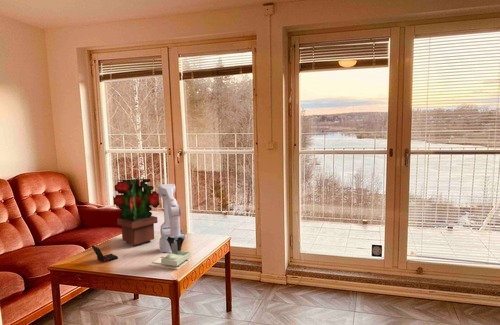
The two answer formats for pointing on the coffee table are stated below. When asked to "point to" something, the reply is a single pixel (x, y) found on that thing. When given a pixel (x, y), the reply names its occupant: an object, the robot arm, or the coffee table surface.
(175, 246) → the part block
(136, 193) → the potted plant
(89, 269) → the coffee table surface
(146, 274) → the coffee table surface
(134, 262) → the coffee table surface
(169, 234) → the robot arm
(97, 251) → the handheld gaming console
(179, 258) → the mint green storage bin
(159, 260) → the rail board
